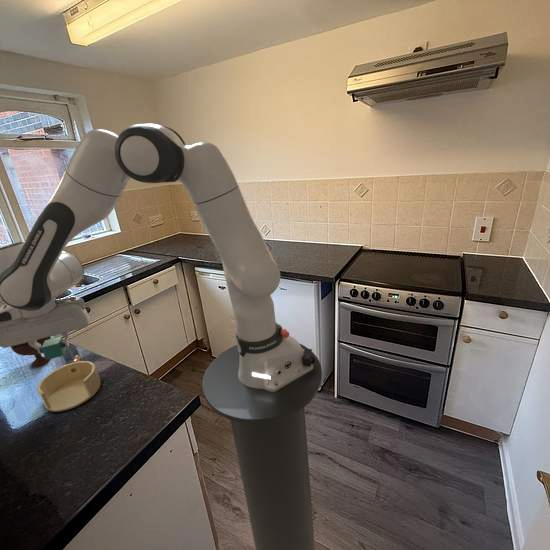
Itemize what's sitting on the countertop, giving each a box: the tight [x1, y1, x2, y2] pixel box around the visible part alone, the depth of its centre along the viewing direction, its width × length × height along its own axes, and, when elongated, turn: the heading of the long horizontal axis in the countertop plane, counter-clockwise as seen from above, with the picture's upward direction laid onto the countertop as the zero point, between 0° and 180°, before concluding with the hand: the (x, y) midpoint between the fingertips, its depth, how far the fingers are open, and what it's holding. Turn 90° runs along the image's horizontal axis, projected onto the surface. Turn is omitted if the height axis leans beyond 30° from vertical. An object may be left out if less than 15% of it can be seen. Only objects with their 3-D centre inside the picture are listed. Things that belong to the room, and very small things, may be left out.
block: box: [41, 335, 67, 360], centre depth 82 cm, size 4×4×4 cm
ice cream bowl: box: [10, 336, 52, 368], centre depth 102 cm, size 11×11×15 cm
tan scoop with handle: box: [36, 354, 101, 413], centre depth 90 cm, size 14×21×6 cm, turn 24°
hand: (54, 349), depth 82 cm, fingers closed on block, 4 cm apart
